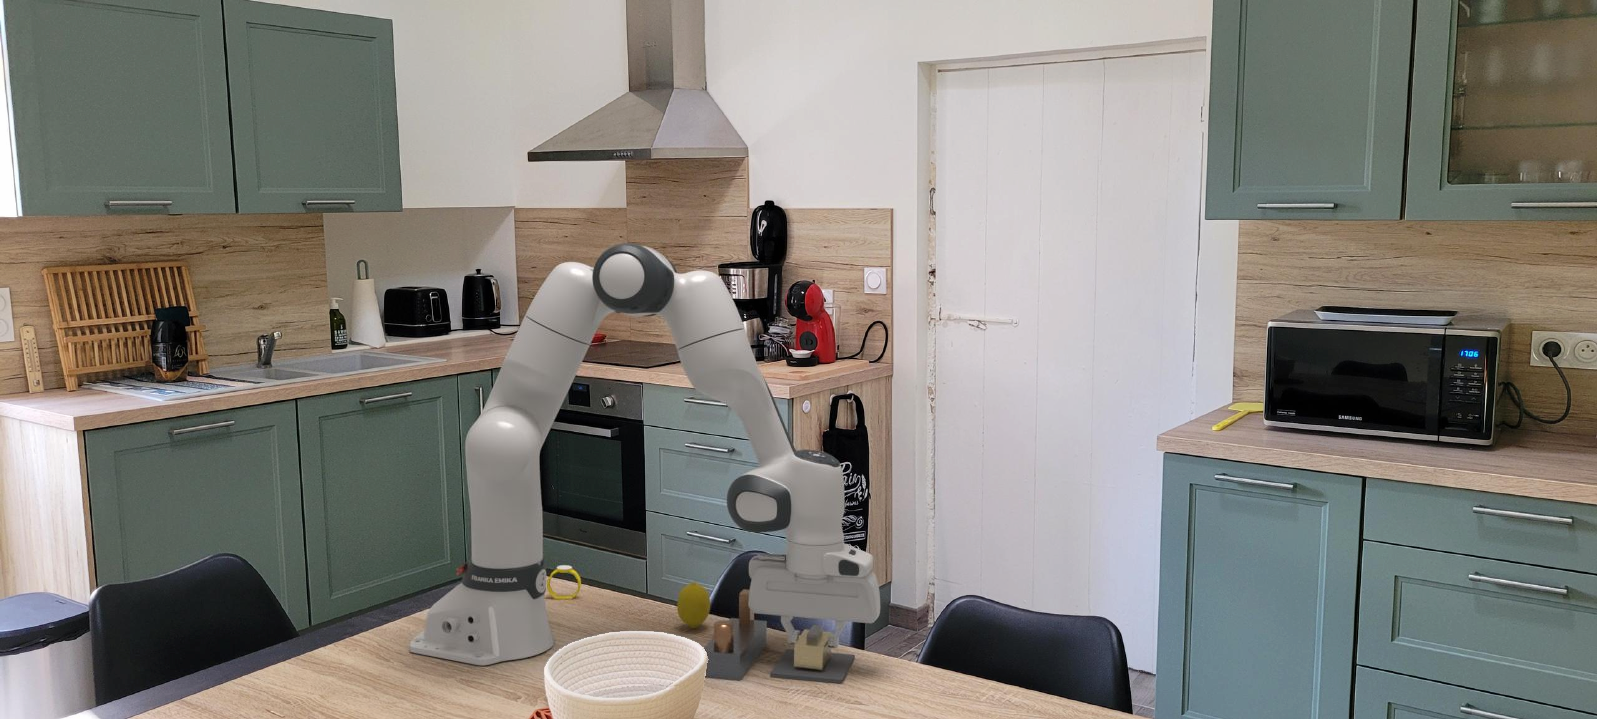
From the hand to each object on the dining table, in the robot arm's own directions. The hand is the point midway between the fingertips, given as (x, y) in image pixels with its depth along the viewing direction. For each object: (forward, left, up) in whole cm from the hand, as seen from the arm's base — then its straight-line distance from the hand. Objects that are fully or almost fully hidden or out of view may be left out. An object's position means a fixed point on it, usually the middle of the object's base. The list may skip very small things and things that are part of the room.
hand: (813, 644), depth 178 cm
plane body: (-12, 0, -4) cm, 13 cm away
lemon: (-23, +13, -4) cm, 27 cm away
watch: (-51, +23, -4) cm, 56 cm away
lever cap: (0, 0, -2) cm, 2 cm away
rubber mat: (0, 0, -4) cm, 4 cm away
